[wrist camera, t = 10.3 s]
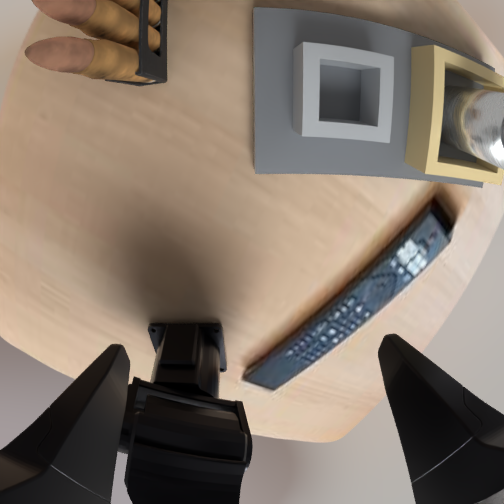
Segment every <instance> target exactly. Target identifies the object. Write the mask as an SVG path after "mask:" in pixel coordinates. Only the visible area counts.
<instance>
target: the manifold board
mask: <svg viewBox="0 0 504 504" xmlns="http://www.w3.org/2000/svg"><path fill="white" fill-rule="evenodd" d="M252 15H253V121H254V170H255V174H335V175H359V176H376V177H391V178H403V179H415V180H425V181H434V182H443V183H452V184H459V185H467V186H474V187H481V188H482V186H483V182H486V183H491V184H497V185H501V184H502V179H503V174H504V170H503V169H501V168H499V167H497V166H495V165H493V164H491V163H489V162H486V161H484V160H482V159H480V158H478V157H475V156H473V155H471V154H468V153H466V152H464V151H461V150H459V149H456V148H454V147H451V146H449V145H447V144H445V143H444V142H442V141H441V140H440V137H441V128H442V117H443V103H444V87H445V86H449V85H451V86H461V87H470V88H477V89H484V90H490V91H496V92H502V93H504V77H503V76H501V75H499V74H497V73H495V68H493V67H491V66H489V65H488V64H486V63H484V62H482V61H480V60H478V59H476V58H474V57H472V56H469V55H467V54H465V53H463V52H461V51H458V50H456V49H454V48H452V47H449V46H447V45H444V44H442V43H439V42H437V41H434V40H431V39H429V38H426V37H423V36H420V35H417V34H414V33H411V32H408V31H405V30H401V29H398V28H395V27H391V26H387V25H384V24H380V23H376V22H372V21H367V20H363V19H358V18H353V17H348V16H343V15H337V14H330V13H324V12H316V11H308V10H298V9H285V8H265V7H254V9H253V14H252Z"/></svg>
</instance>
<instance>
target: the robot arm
mask: <svg viewBox="0 0 504 504" xmlns="http://www.w3.org/2000/svg"><path fill="white" fill-rule="evenodd" d="M216 329H217V330H216ZM148 332H149V335H150V338H151V341H152V343H153V346H154V349H155V352H156V358H155V362H154V367H153V371H152V376H151V381H150V382H147V381H144V380H140V379H141V378H137V377H134V378H133V382H132V384H129V385H128V381H129V371H130V360H129V358H128V355H127V353H126V350H125V348H124V346H123V345H121V344H111V345H110V346H109V347H108V348H107V349H106V350H105V351H104V352H103V353H102V354H101V355H100V356H99V357H98V358H97V359H96V360H95V361H94V362H93V363H92V364H91V365H90V366H89V367H87V368H86V369H85V370H84V371H83V373H82V374H81V375H80V376H79V377H78V378H77V379H76V380H75V381H74V382H73V383H72V384H71V385H70V386H69V387H68V388H67V389H66V390H65V391H64V392H63V393H62V394H61V395H60V396H59V397H58V398H57V399H56V400H55V401H54V402H53V403H52V404H51V405H50V408H49V407H48V408H47V409H46V410H45V411H44V412H43V414H41V415H40V416H39V418H37V419H36V420H35V421H34V422H33V423H32V424H31V425H30V426H29V427H28V428H27V429H25V430H24V431H23V432H22V433H21V434H20V435H19V436H17V437H16V438H15V439H14V440H13V441H11V442H10V443H9V444H8V445H7V446H5V447H4V448H3V449H1V450H0V504H111V503H110V502H111V495H112V486H113V479H114V471H115V464H116V457H117V451H118V452H121V453H124V454H125V453H126V454H128V459H127V465H126V472H125V479H124V482H125V485H126V487H127V492H128V494H129V497H130V499H131V501H132V503H133V504H239V498H240V488H241V482H242V478H243V474H244V472H245V471H246V470H247V468H248V466H249V464H250V461H251V456H252V438H251V433H250V430H249V426H248V422H247V418H246V414H245V410H244V406H243V402H242V401H236V400H235V401H230V400H224V399H219V374H220V372H225V371H226V370H227V364H226V356H225V347H224V338H223V329H222V326H221V325H220V324H218V323H202V324H167V323H151V324H150V325H149V327H148ZM378 358H379V362H380V367H381V371H382V376H383V381H384V386H385V390H386V394H387V397H388V400H389V403H390V407H391V410H392V413H393V416H394V419H395V423H396V427H397V429H398V433H399V437H400V440H401V444H402V448H403V452H404V455H405V459H406V463H407V467H408V471H409V475H410V479H411V483H412V489H413V493H414V498H415V502H416V504H504V415H503V414H502V413H500V412H499V411H497V410H496V409H494V408H492V407H491V406H490V405H488V404H487V403H485V402H484V401H482V400H481V399H479V398H478V397H477V396H475V395H474V394H473V393H471V392H470V391H469V390H468V389H466V388H465V387H463V386H462V385H461V384H460V383H459V382H457V381H456V380H455V379H454V378H452V377H451V376H450V375H449V374H447V373H446V372H445V371H443V370H442V369H441V368H440V367H438V366H437V365H436V364H434V363H433V362H432V361H431V360H429V359H428V358H427V357H426V356H424V355H423V354H422V353H420V352H419V351H418V350H417V349H415V348H414V347H413V346H411V345H410V344H409V343H407V342H406V341H405V340H404V339H402V338H401V337H400V336H398V335H397V334H388V335H385V336H384V338H383V340H382V343H381V345H380V347H379V350H378Z"/></svg>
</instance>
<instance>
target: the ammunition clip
mask: <svg viewBox="0 0 504 504" xmlns="http://www.w3.org/2000/svg"><path fill="white" fill-rule="evenodd" d="M32 2H33V3H34V4H35V6H36V7H38V8H39V9H40V10H41V11H42V12H43V13H45V14H46V15H48V16H49V17H51V18H53V19H55V20H57V21H60V22H63V23H66V24H69V25H70V26H72V27H75V28H78V29H80V30H81V31H82V32H83V33H85V34H86V35H88V36H91V37H94V38H97V39H100V40H91V39H81V38H76V37H54V38H49V39H45V40H41V41H38V42H36V43H34V44H32V45H30V46H29V47H28V48H27V49H26V50H25V55H26V57H27V58H28V59H29V60H30V61H31V62H33V63H34V64H36V65H38V66H41V67H43V68H46V69H50V70H54V71H58V72H68V73H74V74H81V75H84V76H86V77H89V78H92V79H105V81H110V82H117V83H123V84H129V85H135V86H144V85H151V84H158V83H166V82H167V3H168V0H32Z"/></svg>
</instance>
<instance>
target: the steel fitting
mask: <svg viewBox="0 0 504 504" xmlns="http://www.w3.org/2000/svg"><path fill="white" fill-rule="evenodd" d="M440 140H441V141H442V142H444V143H445V144H447V145H449V146H451V147H454V148H456V149H459V150H461V151H464V152H466V153H468V154H471V155H473V156H475V157H478V158H480V159H482V160H484V161H486V162H489V163H491V164H493V165H495V166H497V167H499V168H501V169H503V170H504V93H502V92H496V91H490V90H484V89H477V88H470V87H461V86H451V85H449V86H445V87H444V103H443V117H442V128H441V137H440Z"/></svg>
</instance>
